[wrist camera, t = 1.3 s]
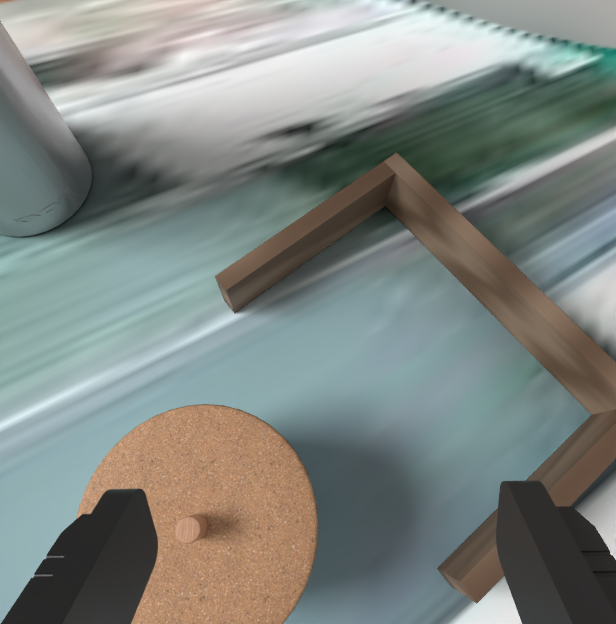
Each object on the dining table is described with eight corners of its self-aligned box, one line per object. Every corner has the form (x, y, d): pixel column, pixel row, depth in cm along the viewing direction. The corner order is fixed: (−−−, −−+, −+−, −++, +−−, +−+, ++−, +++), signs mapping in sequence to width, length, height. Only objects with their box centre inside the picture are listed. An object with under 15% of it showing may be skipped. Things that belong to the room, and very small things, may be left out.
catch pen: (224, 300, 32) (214, 276, 29) (386, 187, 36) (396, 152, 32) (452, 586, 27) (477, 603, 23) (618, 417, 30) (663, 408, 26)
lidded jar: (119, 622, 26) (27, 694, 17) (142, 424, 29) (76, 397, 21) (314, 619, 26) (322, 689, 17) (312, 423, 30) (318, 396, 21)
